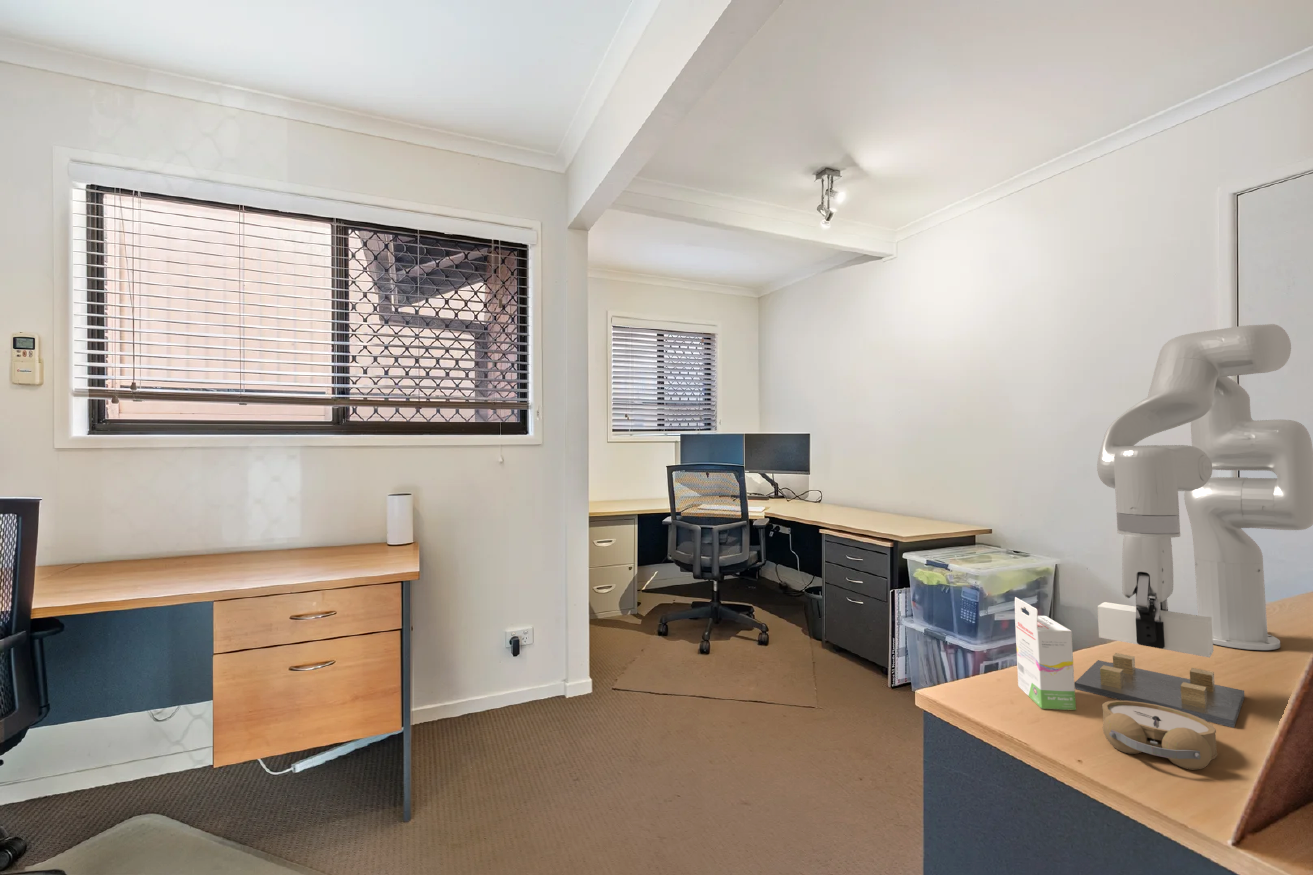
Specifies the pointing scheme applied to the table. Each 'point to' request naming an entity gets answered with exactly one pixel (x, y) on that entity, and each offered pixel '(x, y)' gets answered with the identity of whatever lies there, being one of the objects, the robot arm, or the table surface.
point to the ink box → (1044, 659)
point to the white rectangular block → (1178, 628)
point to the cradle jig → (1164, 689)
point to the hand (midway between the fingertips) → (1153, 641)
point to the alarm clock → (1159, 733)
